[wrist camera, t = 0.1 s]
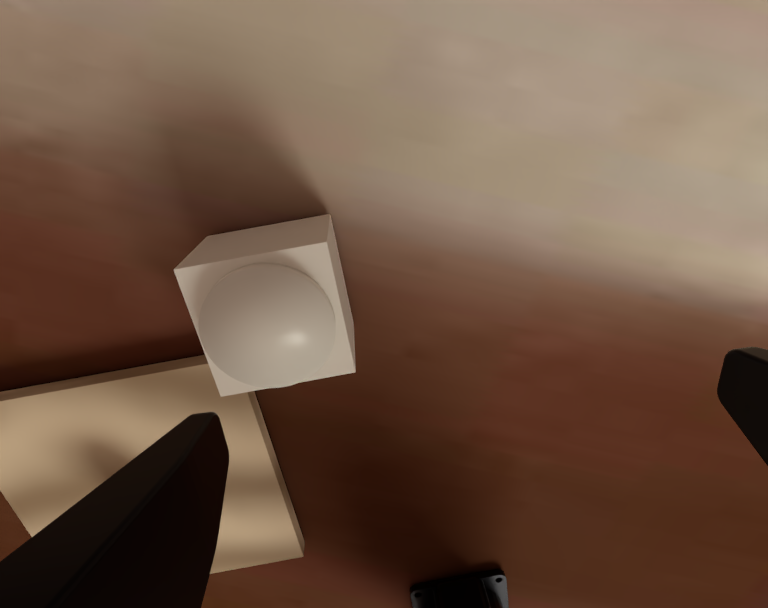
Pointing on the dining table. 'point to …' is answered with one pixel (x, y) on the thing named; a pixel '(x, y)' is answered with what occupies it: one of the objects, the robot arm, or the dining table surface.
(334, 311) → the white domed square block
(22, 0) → the dining table surface
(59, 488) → the stud plate
